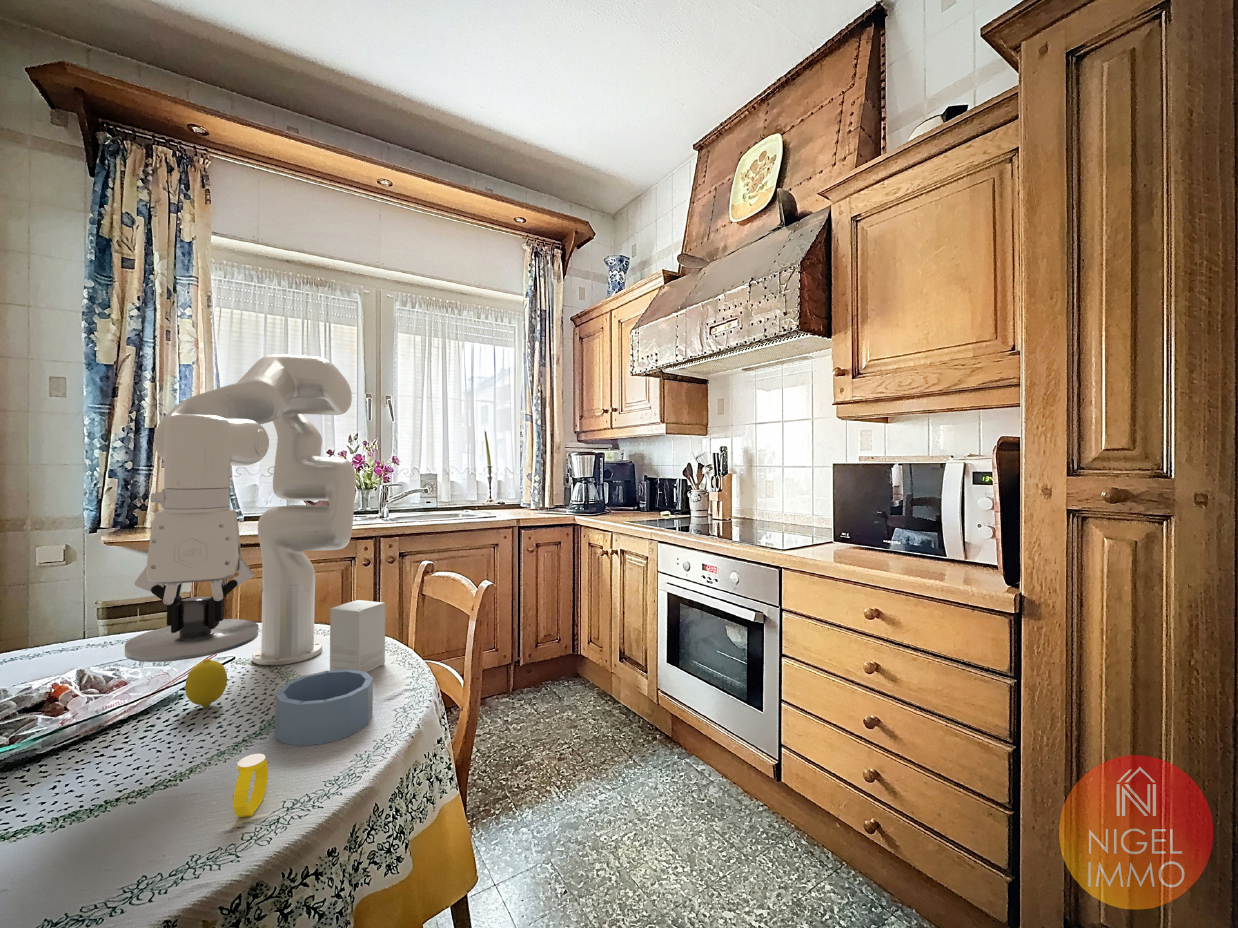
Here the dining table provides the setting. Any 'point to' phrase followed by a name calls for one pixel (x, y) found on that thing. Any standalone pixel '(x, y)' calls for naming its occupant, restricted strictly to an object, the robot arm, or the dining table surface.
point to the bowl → (323, 707)
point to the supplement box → (357, 636)
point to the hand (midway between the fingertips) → (196, 626)
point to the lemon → (206, 682)
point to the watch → (243, 784)
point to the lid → (191, 636)
